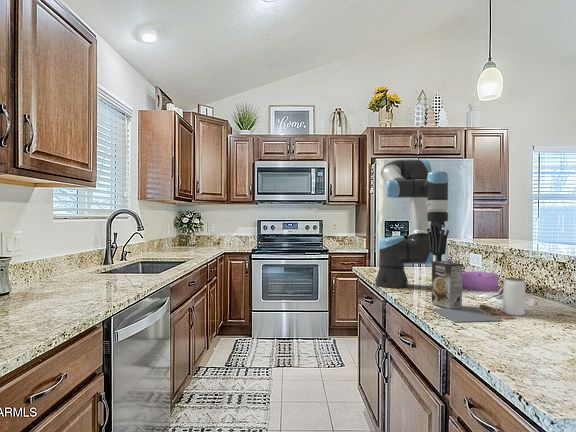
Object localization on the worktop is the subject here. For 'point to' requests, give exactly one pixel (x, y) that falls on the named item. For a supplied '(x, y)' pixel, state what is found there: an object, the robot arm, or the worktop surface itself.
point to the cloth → (499, 298)
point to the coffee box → (447, 284)
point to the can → (514, 297)
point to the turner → (496, 312)
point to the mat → (465, 315)
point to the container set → (479, 280)
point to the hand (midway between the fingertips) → (437, 271)
